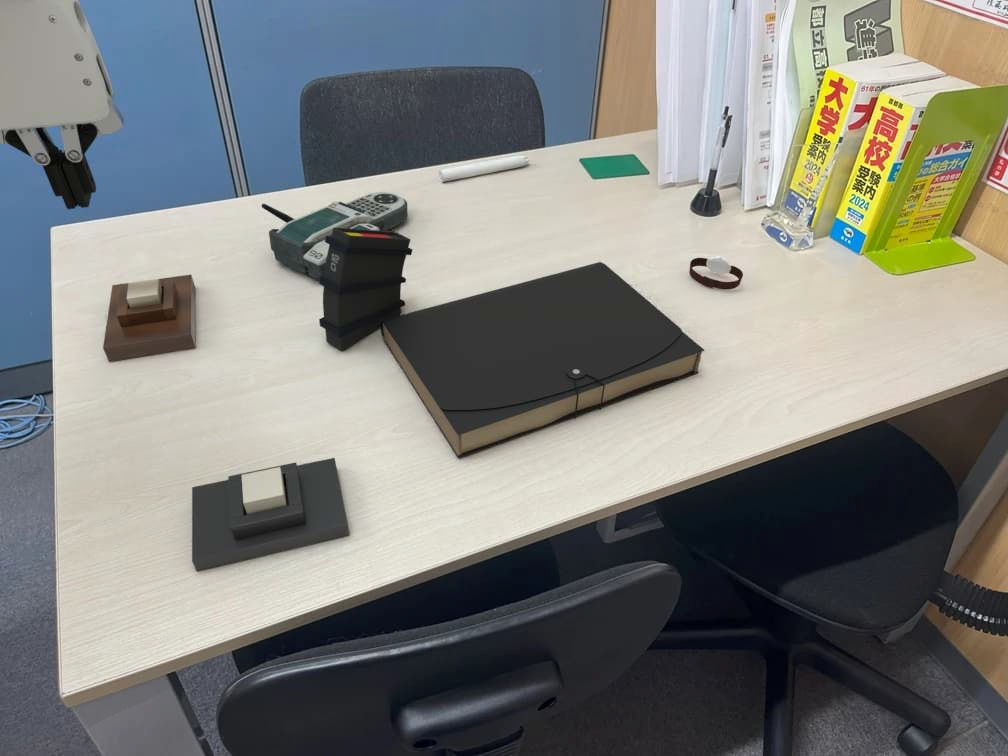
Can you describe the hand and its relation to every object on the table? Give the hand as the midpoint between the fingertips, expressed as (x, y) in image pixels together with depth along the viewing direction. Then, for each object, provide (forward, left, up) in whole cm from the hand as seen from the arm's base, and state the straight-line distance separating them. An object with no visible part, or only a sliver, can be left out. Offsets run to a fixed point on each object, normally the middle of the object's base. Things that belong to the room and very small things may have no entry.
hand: (80, 200), depth 61 cm
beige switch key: (-2, +20, -23) cm, 31 cm away
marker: (+53, +52, -27) cm, 79 cm away
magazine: (+25, +12, -27) cm, 39 cm away
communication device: (+26, +34, -27) cm, 51 cm away
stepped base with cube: (+10, -16, -27) cm, 33 cm away
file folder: (+44, 0, -27) cm, 52 cm away
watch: (+75, +9, -27) cm, 80 cm away
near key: (+10, -17, -24) cm, 31 cm away
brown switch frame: (-2, +20, -27) cm, 34 cm away
